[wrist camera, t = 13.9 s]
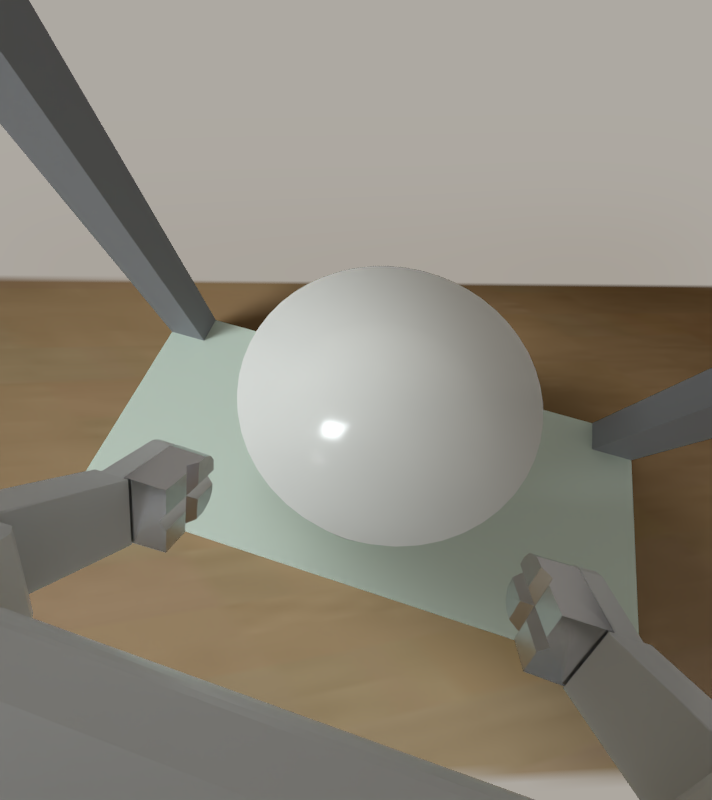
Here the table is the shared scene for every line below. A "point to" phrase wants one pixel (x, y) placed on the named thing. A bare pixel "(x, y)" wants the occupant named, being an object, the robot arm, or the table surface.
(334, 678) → the table surface
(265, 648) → the table surface
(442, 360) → the white cylinder
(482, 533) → the grey frame
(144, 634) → the table surface
